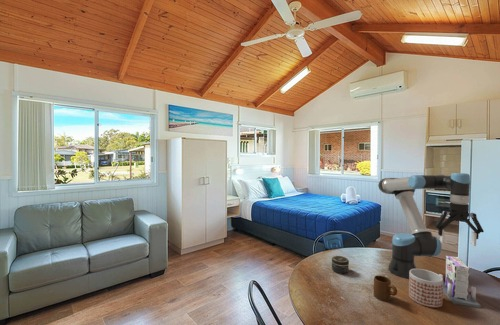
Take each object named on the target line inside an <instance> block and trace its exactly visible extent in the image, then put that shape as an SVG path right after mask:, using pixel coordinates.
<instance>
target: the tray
mask: <svg viewBox="0 0 500 325" xmlns="http://www.w3.org/2000/svg"><path fill="white" fill-rule="evenodd" d="M438 275H440V276H441V277H442V278H443V279H444V275H443V274H441V273H438ZM443 295H445V296H446V297H447V298H448V299H449V301H450V302H451V304H454V305H458V306H459V305H460V306H467V307H474V308H479V309H481V308H482V306H481V304H480V303H479V302H478V301H477V300H476V298H477V297H476V296H477V287H476V286H471V287H470V294H469V293H468V300H464V299H459V298H455V297H453V295H452V284H450V283H448V288H447V286H446V285H445V281H443Z"/></svg>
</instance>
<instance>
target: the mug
mask: <svg viewBox="0 0 500 325" xmlns="http://www.w3.org/2000/svg"><path fill="white" fill-rule="evenodd" d="M391 289H392V290H393V291H391ZM397 294H398V290H397V288H396V286H395V285H393V284H391V279H390V278H389V277H386V276H384V275H374V277H373V296H374V297H375V298H376V299H378V300H379V301H383V302H384V301H385V302H389V301H390V299H391V297H395V296H397Z"/></svg>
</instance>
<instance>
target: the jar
mask: <svg viewBox="0 0 500 325" xmlns="http://www.w3.org/2000/svg"><path fill="white" fill-rule="evenodd" d="M349 260H350V259H348V258H347V257H345V256H341V255H334V256H332V257H331V270H332V271H333V272H334V273H336V274H338V275H346V274H348V272H349V269H350V268H349V265H350V264H349V263H350V261H349Z"/></svg>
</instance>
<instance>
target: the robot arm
mask: <svg viewBox="0 0 500 325" xmlns="http://www.w3.org/2000/svg"><path fill="white" fill-rule="evenodd" d="M470 186H471V175H470V174H468V173H463V172H451V173H450V175H445V174H435V175H429V174H428V175H425V174H424V175H423V174H412V175H410V176H406V177H385V178H382V179H380V180H379V182H378V190H380V192H381V193H383V194H387V195H394V197H395V199H396V200H398V201H399V203H400V205H401V208H402V211H403V213H404V215H405V218H406V221H407V224H408V226H409V229H410V231H411V232H410V233H405V232H398V233H395V234H394V235H393V236H392V241H391V243H392V246H391V247H392V248H391V259H390V262H389V264H388V271H389V273H391V274H393V275H395V276H397V277H400V278H406V279H409V271H410V270H411V269H417V267H416V264H415V257H429V258H430V257H437V256H439V255H440V254H441V251H442V243H443V244H444V243H445V230H444V229H446V227H448V226H449V225H450V224H451V223H452V222H465V223H466V224H467V225H468V227H469V228H470V229H471V230H472V231H471V236H470V237H471V242H470V243H471V245H473V246H474V247H476V246H477V240H479V237H480V236H479V234H480V233H484V228H483V227H482V225H481V223H480V222H479V220H478V218H477V214H476V213H474V212H469V211H470V205H469V204H470V188H471V187H470ZM421 189H422V190H423V189H424V190H427V189H429V190H430V189H432V190H449V191H450V193H449V201H450V202H449V211H445V210H442V211H441V215H440V217H439V218H438V219H437V221H436V223H435V224H434V225H433V227H434V228H436V229H438V230H437V231H438V234H437V235H438V236H440V237H439V238H438V237H437V236H434V235H433V233H432V231H430V230H428V228H427V227H426V224H425V222H424V220H423V218H422V215H421V212H420V209H419V207H418V205H417V203H416V200H415V199H414V195H415V192H416V190H421ZM448 215H449V216H448ZM447 216H448V217H447ZM446 217H447V219H446ZM469 217H470V218H471V220H472V222H473V223H472V222H471V221H470V220H469ZM473 224H474V225H473Z"/></svg>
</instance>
